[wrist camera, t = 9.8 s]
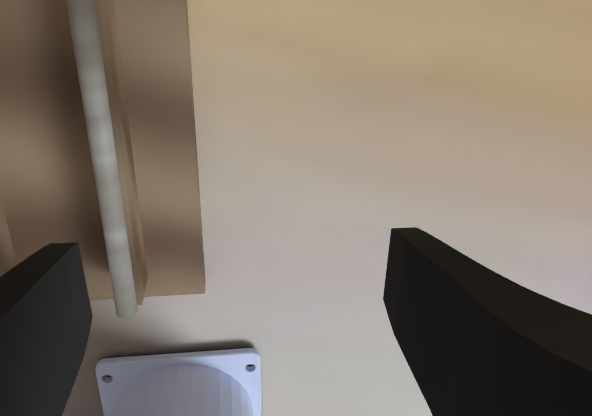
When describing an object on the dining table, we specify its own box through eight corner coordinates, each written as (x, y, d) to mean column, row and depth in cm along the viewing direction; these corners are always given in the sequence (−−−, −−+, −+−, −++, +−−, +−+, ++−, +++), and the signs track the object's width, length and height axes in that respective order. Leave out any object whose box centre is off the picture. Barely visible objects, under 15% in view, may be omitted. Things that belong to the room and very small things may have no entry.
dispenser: (205, 280, 24) (202, 333, 21) (-47, 294, 23) (-93, 353, 19) (173, -194, 16) (161, -233, 13) (-212, -216, 15) (-339, -267, 12)
